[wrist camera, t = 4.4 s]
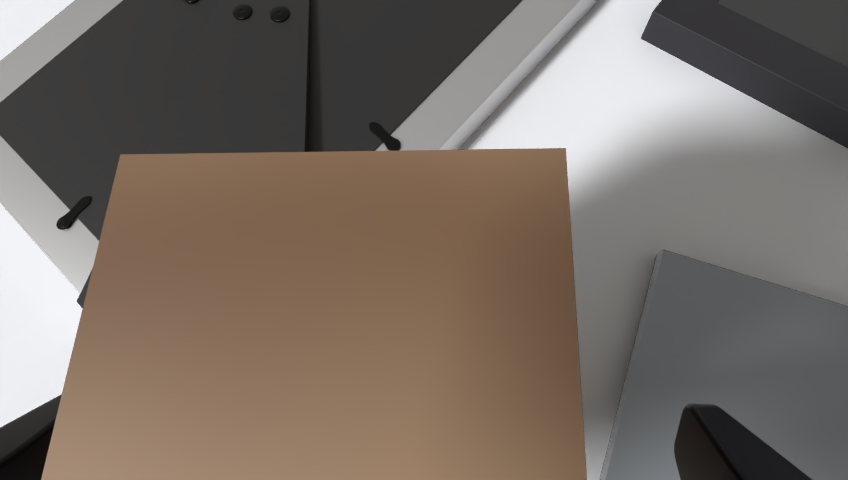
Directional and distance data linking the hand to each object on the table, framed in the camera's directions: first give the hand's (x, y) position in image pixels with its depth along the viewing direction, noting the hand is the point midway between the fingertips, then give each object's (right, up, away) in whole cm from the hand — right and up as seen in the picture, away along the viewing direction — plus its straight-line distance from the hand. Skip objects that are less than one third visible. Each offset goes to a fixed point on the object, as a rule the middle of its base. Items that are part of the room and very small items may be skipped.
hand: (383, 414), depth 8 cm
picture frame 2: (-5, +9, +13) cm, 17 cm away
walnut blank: (+1, -2, +8) cm, 8 cm away
